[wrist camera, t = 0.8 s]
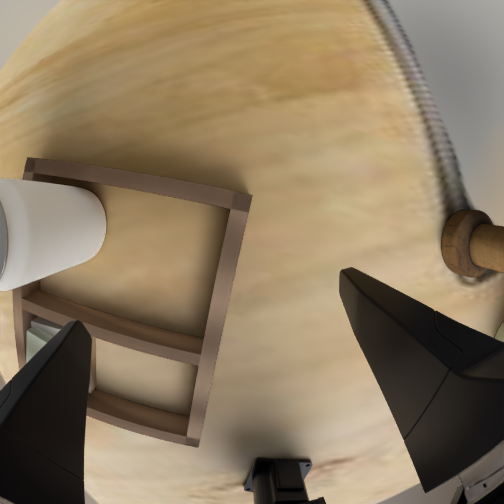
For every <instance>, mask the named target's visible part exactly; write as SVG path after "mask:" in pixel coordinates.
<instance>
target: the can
mask: <svg viewBox="0 0 504 504" xmlns="http://www.w3.org/2000/svg"><path fill="white" fill-rule="evenodd" d="M105 235H106V216H105V212H104V209H103V206H102V204H101V202H100V200H99V199H98V198H97V197H96V196H95V195H94V194H93V193H92V192H90V191H88V190H86V189H83V188H80V187H74V186H67V185H60V184H53V183H45V182H37V181H29V180H20V179H10V178H0V291H8V290H12V289H15V288H17V287H20V286H23V285H25V284H28V283H31V282H33V281H36V280H39V279H41V278H44V277H47V276H49V275H52V274H55V273H57V272H60V271H63V270H65V269H68V268H71V267H73V266H76V265H79V264H81V263H84V262H86V261H88V260H90V259H91V258H93V257H94V256H95V255H96V254H97V253H98V251H99V250H100V248H101V246H102V244H103V242H104V239H105Z"/></svg>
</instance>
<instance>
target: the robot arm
mask: <svg viewBox="0 0 504 504" xmlns="http://www.w3.org/2000/svg"><path fill="white" fill-rule="evenodd" d="M339 293H340V297H341V299H342V302H343V305H344V308H345V310H346V313H347V316H348V318H349V321H350V324H351V327H352V329H353V332H354V335H355V337H356V339H357V341H358V343H359V345H360V347H361V349H362V351H363V353H364V355H365V357H366V359H367V361H368V363H369V365H370V367H371V369H372V372H373V374H374V376H375V378H376V380H377V382H378V384H379V386H380V388H381V391H382V393H383V395H384V397H385V399H386V401H387V404H388V406H389V408H390V410H391V413H392V415H393V417H394V419H395V421H396V424H397V426H398V428H399V431H400V433H401V435H402V438H403V440H404V443H405V445H406V447H407V450H408V452H409V455H410V457H411V459H412V462H413V464H414V467H415V469H416V472H417V474H418V477H419V479H420V482H421V484H422V487H423V490H424V492H425V493H427V492H429V491H431V490H433V489H435V488H437V487H439V486H440V485H442V484H444V483H445V482H447V481H449V480H451V479H453V478H454V477H456V476H457V475H459V478H460V480H461V483H462V485H461V486H459V487H457V490H456V492H455V494H454V497H453V499H452V501H451V504H504V342H502V341H499V340H497V339H495V338H493V337H490V336H488V335H486V334H483V333H481V332H479V331H477V330H474V329H472V328H470V327H468V326H465V325H463V324H461V323H459V322H457V321H455V320H453V319H451V318H449V317H447V316H445V315H443V314H441V313H440V312H438V311H434V309H432V308H430V307H428V306H426V305H425V304H423V303H421V302H419V301H417V300H415V299H413V298H411V297H409V296H408V295H406V294H404V293H402V292H400V291H398V290H396V289H394V288H392V287H390V286H388V285H386V284H384V283H383V282H381V281H379V280H377V279H375V278H373V277H371V276H369V275H367V274H365V273H363V272H361V271H359V270H357V269H355V268H353V267H350V268H346V269H342V270H341V271H340V276H339ZM91 353H92V337H91V335H90V333H89V332H88V330H87V329H86V327H85V326H84V324H83V323H82V321H80V320H72V321H69V322H68V323H67V324H66V325H65V326H64V327H63V328H62V329H61V330H60V331H59V332H58V333H57V334H56V335H55V336H53V337H52V338H51V339H50V340H49V341H48V342H47V343H46V344H45V345H44V346H43V347H42V348H41V349H40V350H39V351H38V352H37V353H36V354H35V355H34V356H33V357H32V358H31V359H30V360H29V361H28V362H27V363H26V364H25V365H24V366H23V367H22V368H21V370H20V371H19V372H18V373H17V374H16V375H15V376H14V377H13V378H12V380H10V381H9V382H8V383H7V384H6V385H5V386H4V388H3V389H2V390H1V391H0V504H85V499H84V498H85V497H84V444H85V426H86V413H87V403H88V393H89V385H90V374H91ZM311 466H312V462H311V461H310V460H281V459H266V458H257V459H255V461H254V464H253V466H252V469H251V471H250V474H249V476H248V479H247V481H246V483H245V486H244V490H245V491H249V492H253V494H254V504H326V502H325V500H324V497H320V498H318V499H315V500H311V501H309V498H308V494H307V490H306V486H305V482H304V479H305V477H306V475H307V473H308V472H309V470H310V468H311Z"/></svg>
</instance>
